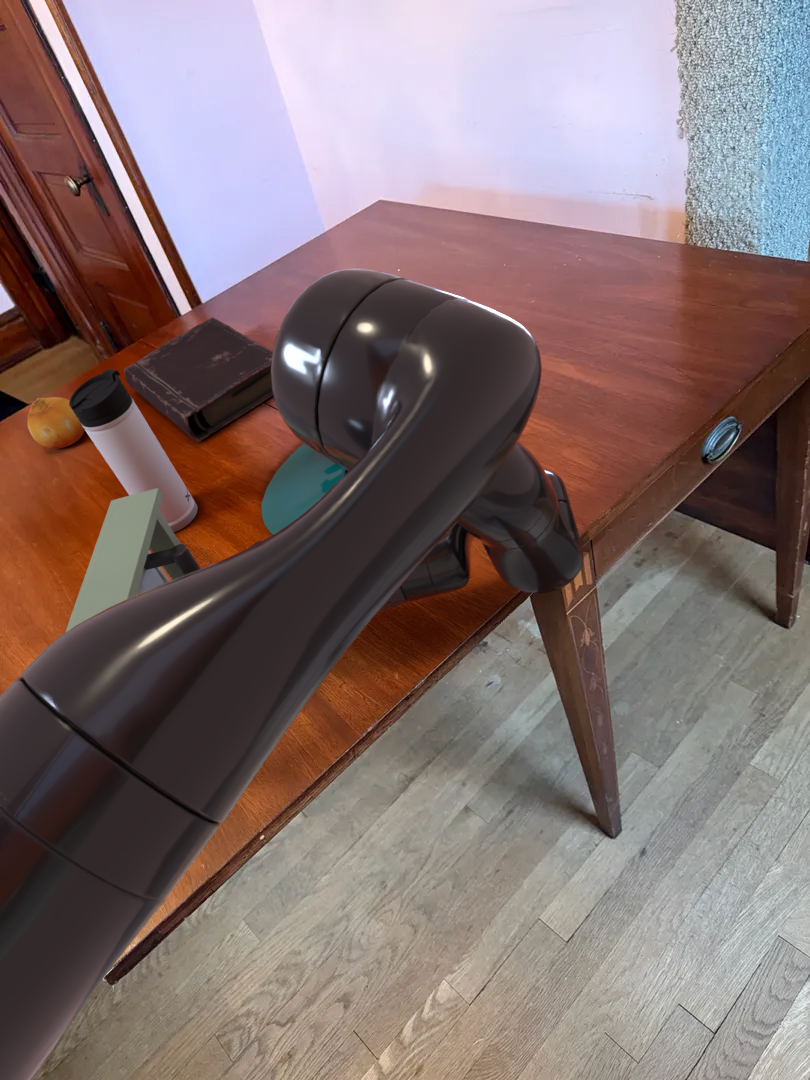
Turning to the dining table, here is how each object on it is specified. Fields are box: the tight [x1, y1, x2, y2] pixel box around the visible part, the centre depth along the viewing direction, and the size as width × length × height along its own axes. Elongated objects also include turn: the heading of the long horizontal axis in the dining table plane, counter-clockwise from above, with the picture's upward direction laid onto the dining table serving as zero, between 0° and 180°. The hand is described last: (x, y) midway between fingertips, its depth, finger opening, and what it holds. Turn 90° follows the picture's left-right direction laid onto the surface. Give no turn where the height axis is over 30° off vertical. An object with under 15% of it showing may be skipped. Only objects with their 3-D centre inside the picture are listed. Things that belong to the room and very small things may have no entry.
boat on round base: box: [261, 443, 349, 535], centre depth 87 cm, size 28×28×11 cm
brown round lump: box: [26, 396, 86, 450], centre depth 116 cm, size 8×8×8 cm
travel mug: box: [69, 368, 199, 533], centre depth 88 cm, size 6×7×20 cm
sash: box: [137, 543, 202, 595], centre depth 69 cm, size 5×8×14 cm, turn 4°
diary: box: [123, 316, 274, 443], centre depth 116 cm, size 19×25×5 cm
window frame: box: [64, 488, 184, 633], centre depth 67 cm, size 6×22×17 cm, turn 4°
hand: (168, 618), depth 68 cm, fingers closed
